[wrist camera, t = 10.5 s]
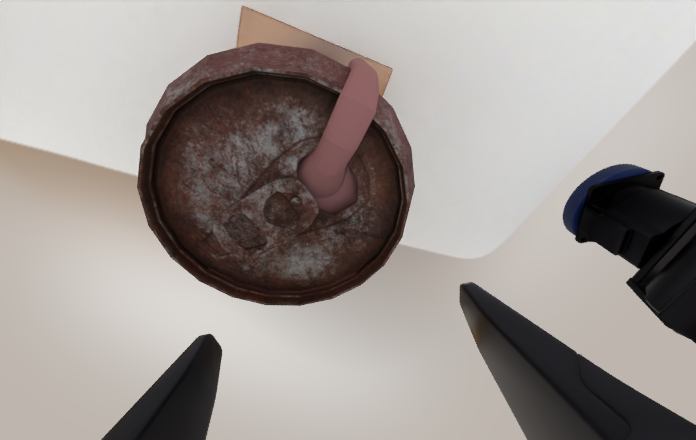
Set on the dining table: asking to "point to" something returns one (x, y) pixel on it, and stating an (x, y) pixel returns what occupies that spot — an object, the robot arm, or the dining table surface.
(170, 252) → the can
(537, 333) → the robot arm
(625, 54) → the dining table surface
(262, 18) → the caramel mat
